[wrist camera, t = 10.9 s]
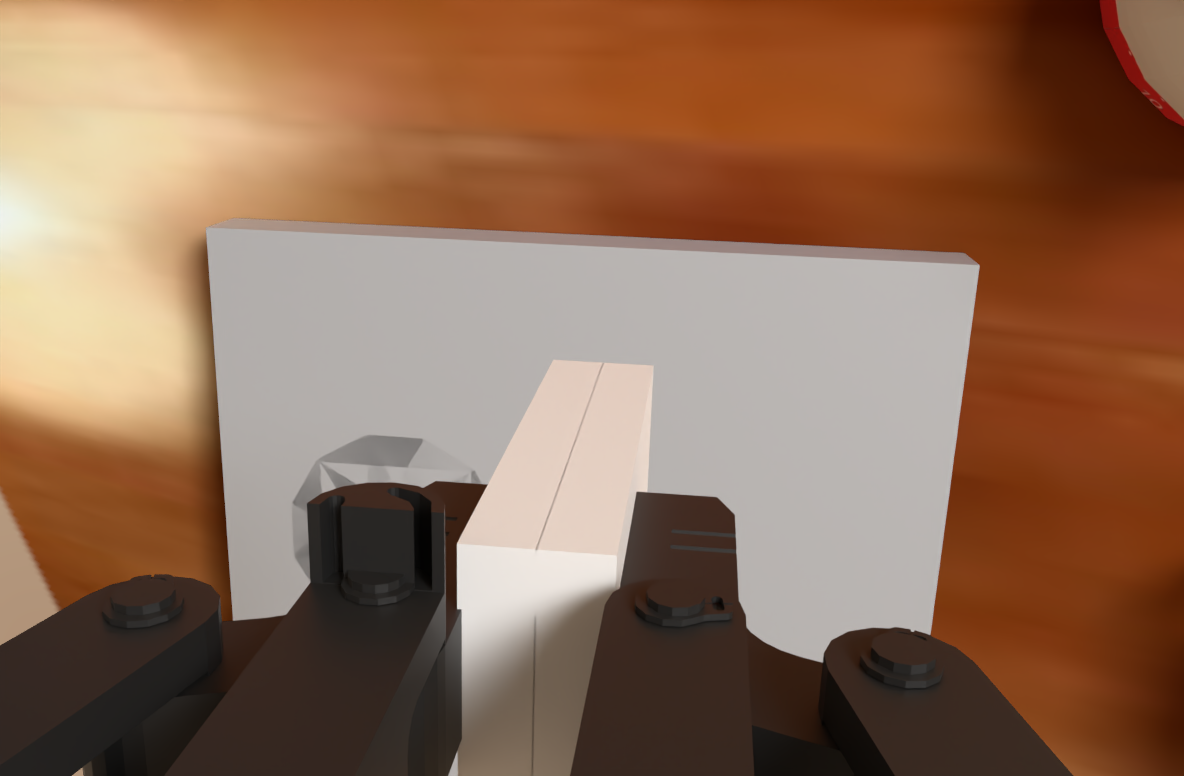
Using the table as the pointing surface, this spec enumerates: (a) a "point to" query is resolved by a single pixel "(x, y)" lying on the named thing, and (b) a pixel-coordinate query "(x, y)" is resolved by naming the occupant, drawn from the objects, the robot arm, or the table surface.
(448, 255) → the plate
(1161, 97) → the kitchen timer
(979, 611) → the table surface
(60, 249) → the table surface
